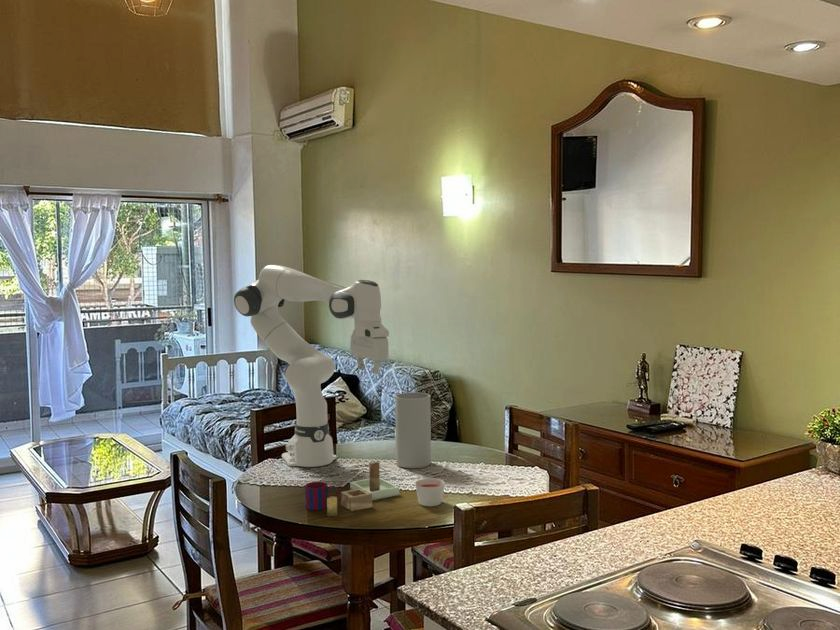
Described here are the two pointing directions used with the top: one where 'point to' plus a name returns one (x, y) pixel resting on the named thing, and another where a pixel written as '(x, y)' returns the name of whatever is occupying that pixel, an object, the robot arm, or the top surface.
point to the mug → (317, 495)
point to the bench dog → (332, 506)
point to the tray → (384, 492)
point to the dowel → (374, 476)
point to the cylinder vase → (413, 430)
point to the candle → (430, 491)
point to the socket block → (356, 499)
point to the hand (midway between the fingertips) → (368, 371)
